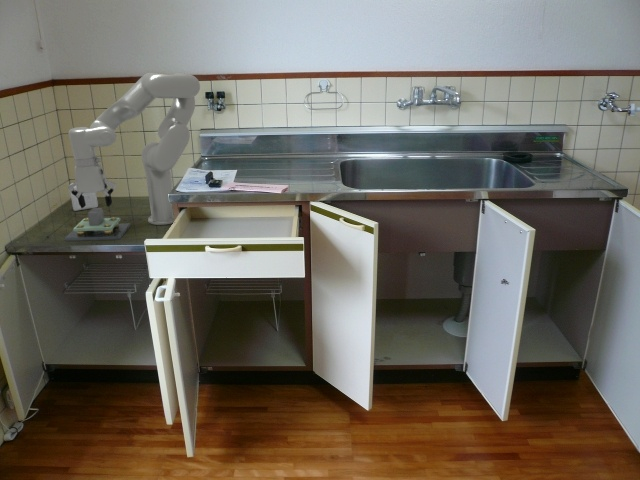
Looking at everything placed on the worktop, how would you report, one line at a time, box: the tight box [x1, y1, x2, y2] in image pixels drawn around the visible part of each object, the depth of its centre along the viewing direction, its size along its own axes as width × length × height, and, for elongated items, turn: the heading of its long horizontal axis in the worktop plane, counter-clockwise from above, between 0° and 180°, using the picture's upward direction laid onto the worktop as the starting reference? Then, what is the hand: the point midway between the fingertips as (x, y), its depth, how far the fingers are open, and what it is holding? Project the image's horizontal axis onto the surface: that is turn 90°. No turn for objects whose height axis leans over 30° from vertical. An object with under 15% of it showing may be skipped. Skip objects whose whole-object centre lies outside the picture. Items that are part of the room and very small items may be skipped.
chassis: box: [64, 216, 131, 242], centre depth 203 cm, size 20×14×5 cm
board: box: [72, 207, 121, 231], centre depth 201 cm, size 14×11×6 cm
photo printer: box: [69, 182, 99, 212], centre depth 229 cm, size 10×4×12 cm, turn 123°
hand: (96, 206), depth 200 cm, fingers open, 9 cm apart
